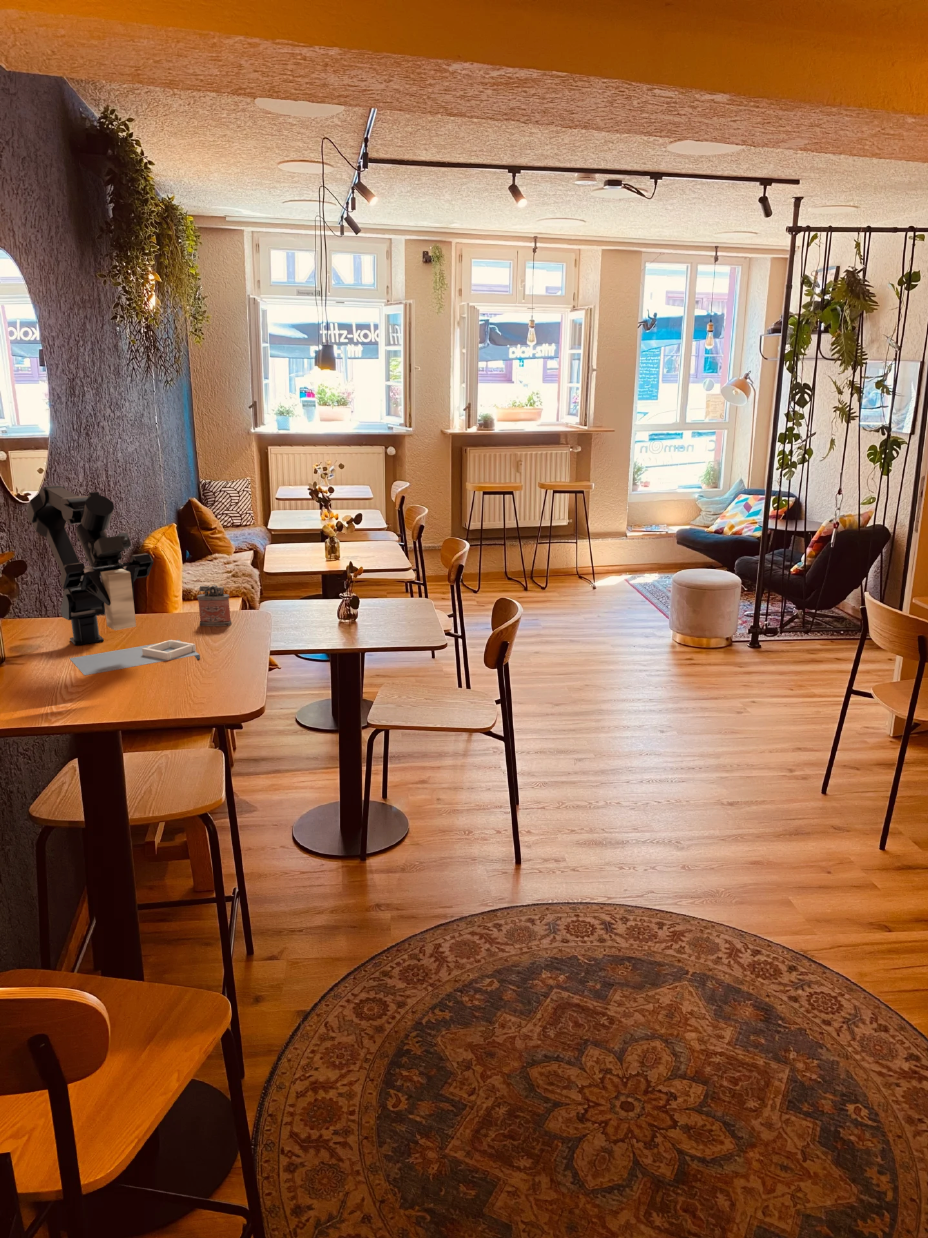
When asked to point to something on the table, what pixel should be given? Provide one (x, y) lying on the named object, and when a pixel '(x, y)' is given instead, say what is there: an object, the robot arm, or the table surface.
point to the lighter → (214, 606)
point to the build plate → (120, 659)
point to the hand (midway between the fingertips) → (121, 602)
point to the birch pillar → (119, 599)
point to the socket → (181, 650)
